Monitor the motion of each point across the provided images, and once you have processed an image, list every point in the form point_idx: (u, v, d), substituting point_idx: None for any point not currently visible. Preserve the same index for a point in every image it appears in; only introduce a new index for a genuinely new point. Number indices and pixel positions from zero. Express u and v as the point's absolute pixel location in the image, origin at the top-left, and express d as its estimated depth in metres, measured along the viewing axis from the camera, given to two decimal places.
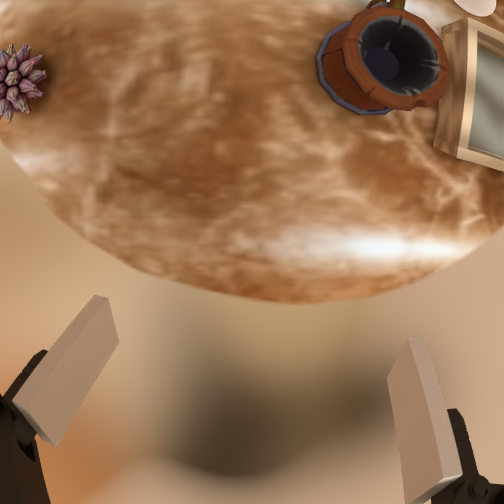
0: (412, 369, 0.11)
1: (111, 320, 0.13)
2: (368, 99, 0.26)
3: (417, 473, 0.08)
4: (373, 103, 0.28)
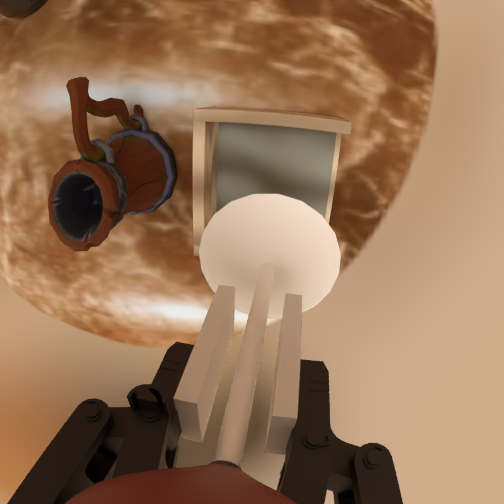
0: (282, 320, 0.13)
1: (233, 309, 0.15)
2: None
3: (270, 416, 0.10)
4: None
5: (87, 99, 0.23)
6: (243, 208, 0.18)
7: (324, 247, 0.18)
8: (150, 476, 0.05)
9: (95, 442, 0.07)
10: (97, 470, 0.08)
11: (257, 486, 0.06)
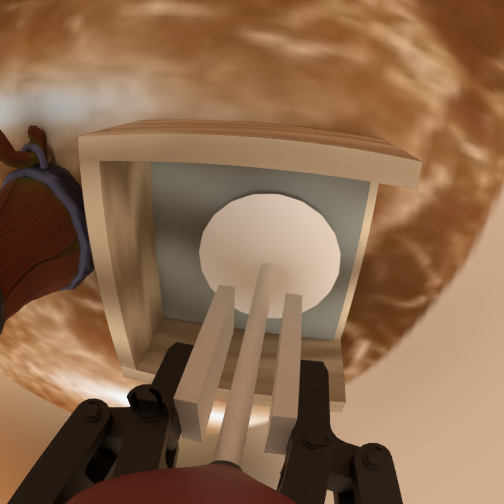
0: (282, 320, 0.13)
1: (233, 309, 0.15)
2: None
3: (270, 416, 0.10)
4: None
5: None
6: (243, 208, 0.18)
7: (324, 247, 0.18)
8: (150, 476, 0.05)
9: (95, 442, 0.07)
10: (97, 470, 0.08)
11: (257, 486, 0.06)
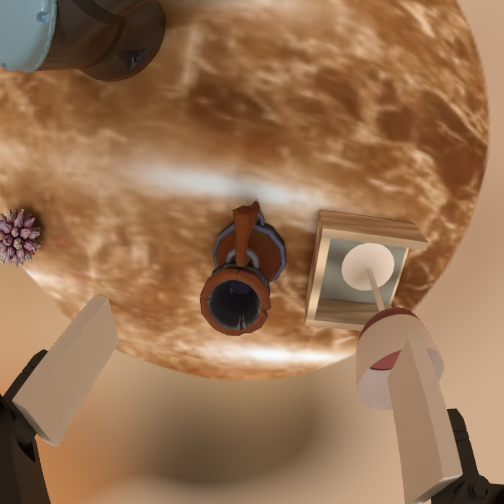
0: (412, 369, 0.11)
1: (111, 320, 0.13)
2: None
3: (417, 473, 0.08)
4: None
5: (252, 227, 0.34)
6: (362, 247, 0.46)
7: (389, 261, 0.47)
8: None
9: None
10: None
11: None
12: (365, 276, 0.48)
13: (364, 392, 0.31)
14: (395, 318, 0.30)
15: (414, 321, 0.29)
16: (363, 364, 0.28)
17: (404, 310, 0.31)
